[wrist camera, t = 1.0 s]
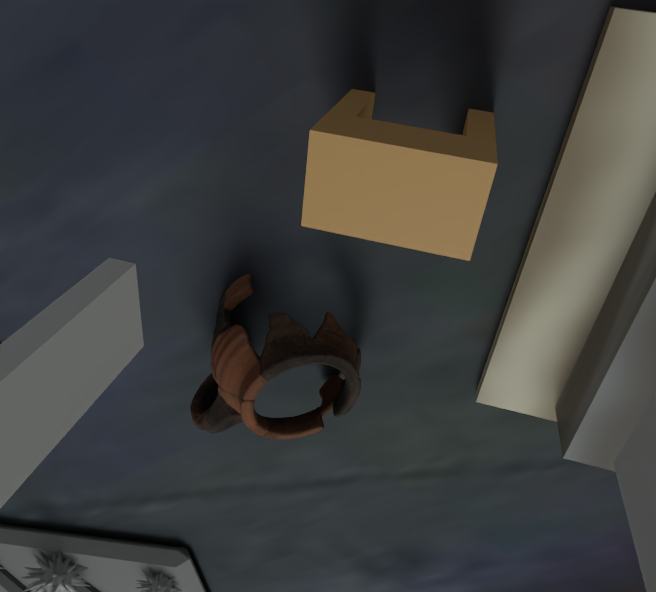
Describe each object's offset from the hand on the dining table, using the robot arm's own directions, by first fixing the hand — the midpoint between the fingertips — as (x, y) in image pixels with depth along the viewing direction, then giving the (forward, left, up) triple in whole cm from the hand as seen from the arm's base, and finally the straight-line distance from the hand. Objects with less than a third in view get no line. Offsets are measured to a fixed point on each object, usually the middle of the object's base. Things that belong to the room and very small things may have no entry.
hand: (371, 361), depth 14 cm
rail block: (+12, -3, -17) cm, 21 cm away
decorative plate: (-26, -55, -18) cm, 64 cm away
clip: (-1, +1, -17) cm, 17 cm away
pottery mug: (-7, -14, -17) cm, 23 cm away
